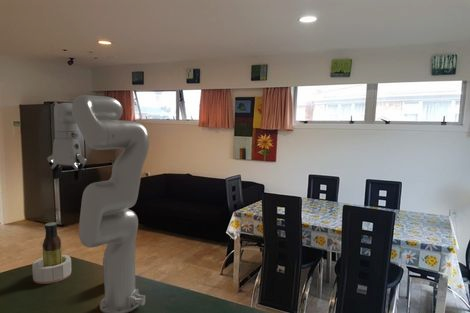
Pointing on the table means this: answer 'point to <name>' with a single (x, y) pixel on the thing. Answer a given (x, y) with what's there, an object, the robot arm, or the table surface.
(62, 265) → the bottle holder
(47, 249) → the sauce bottle
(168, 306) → the table surface
